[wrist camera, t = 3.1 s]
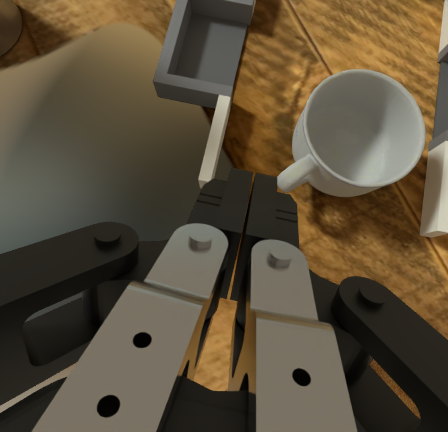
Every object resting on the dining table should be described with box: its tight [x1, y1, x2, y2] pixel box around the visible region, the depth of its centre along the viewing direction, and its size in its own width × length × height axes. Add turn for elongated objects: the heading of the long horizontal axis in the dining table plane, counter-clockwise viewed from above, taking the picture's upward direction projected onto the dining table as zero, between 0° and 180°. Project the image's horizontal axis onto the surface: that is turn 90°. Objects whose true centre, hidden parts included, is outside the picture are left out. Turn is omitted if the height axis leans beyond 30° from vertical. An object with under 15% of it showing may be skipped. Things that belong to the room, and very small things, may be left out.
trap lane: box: [153, 0, 448, 238], centre depth 37 cm, size 31×38×4 cm
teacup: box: [277, 69, 426, 197], centre depth 33 cm, size 14×11×8 cm
